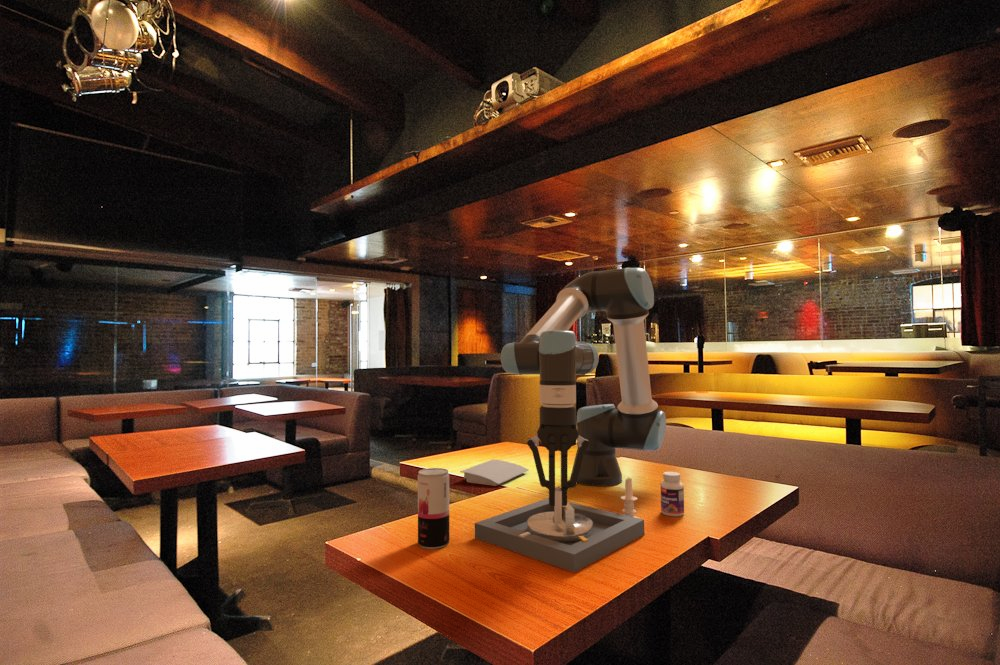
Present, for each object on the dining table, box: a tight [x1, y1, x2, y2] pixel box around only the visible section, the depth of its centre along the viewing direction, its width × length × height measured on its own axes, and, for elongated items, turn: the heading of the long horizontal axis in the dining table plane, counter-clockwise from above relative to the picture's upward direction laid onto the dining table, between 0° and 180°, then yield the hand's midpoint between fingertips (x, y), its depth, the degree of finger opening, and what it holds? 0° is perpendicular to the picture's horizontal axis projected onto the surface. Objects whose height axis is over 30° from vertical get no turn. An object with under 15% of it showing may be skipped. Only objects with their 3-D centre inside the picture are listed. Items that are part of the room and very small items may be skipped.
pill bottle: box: [660, 471, 685, 517], centre depth 126 cm, size 5×5×10 cm
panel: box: [474, 497, 645, 573], centre depth 111 cm, size 26×26×4 cm
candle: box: [620, 476, 641, 519], centre depth 121 cm, size 5×5×10 cm
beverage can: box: [417, 467, 451, 550], centre depth 108 cm, size 7×6×15 cm
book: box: [459, 458, 529, 487], centre depth 165 cm, size 15×23×4 cm, turn 151°
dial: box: [527, 501, 593, 543], centre depth 110 cm, size 16×14×7 cm
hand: (558, 521), depth 105 cm, fingers closed
